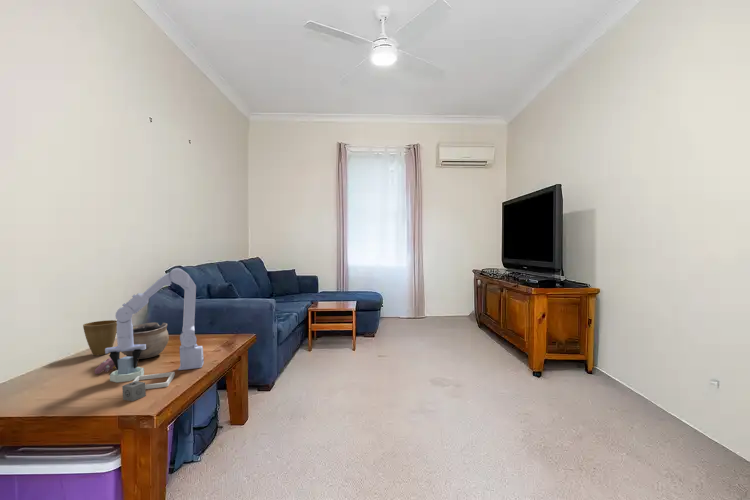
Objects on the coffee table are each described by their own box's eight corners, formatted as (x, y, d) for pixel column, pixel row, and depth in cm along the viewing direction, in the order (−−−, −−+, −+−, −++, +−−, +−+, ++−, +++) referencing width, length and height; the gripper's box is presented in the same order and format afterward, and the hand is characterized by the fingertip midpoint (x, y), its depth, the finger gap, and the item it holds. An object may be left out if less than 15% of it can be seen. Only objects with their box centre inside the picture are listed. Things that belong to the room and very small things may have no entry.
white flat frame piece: (174, 375, 168) (174, 371, 168) (167, 386, 155) (167, 382, 155) (137, 379, 164) (137, 376, 164) (127, 391, 151) (127, 387, 151)
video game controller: (101, 378, 173) (106, 363, 172) (92, 373, 174) (98, 358, 173) (119, 370, 183) (124, 357, 182) (111, 365, 183) (116, 352, 183)
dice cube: (136, 394, 148) (135, 381, 148) (145, 396, 146) (145, 382, 146) (123, 399, 143) (122, 385, 143) (132, 401, 141) (132, 387, 141)
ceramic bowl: (178, 354, 200) (177, 324, 200) (133, 366, 182) (131, 333, 182) (154, 349, 212) (152, 320, 212) (109, 360, 194) (107, 329, 194)
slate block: (135, 370, 170) (135, 356, 169) (127, 374, 165) (126, 359, 165) (126, 370, 170) (125, 356, 170) (117, 374, 166) (117, 359, 166)
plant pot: (107, 357, 200) (105, 325, 199) (77, 358, 200) (75, 326, 199) (125, 349, 215) (124, 319, 214) (98, 350, 215) (96, 320, 214)
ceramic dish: (146, 371, 175) (146, 365, 175) (138, 379, 164) (138, 373, 164) (116, 374, 172) (116, 368, 172) (106, 383, 161) (106, 377, 161)
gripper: (147, 332, 173) (148, 363, 174) (108, 335, 169) (110, 367, 170) (142, 335, 166) (144, 368, 167) (102, 339, 162) (104, 372, 163)
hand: (126, 368), depth 168 cm, fingers closed on slate block, 6 cm apart
